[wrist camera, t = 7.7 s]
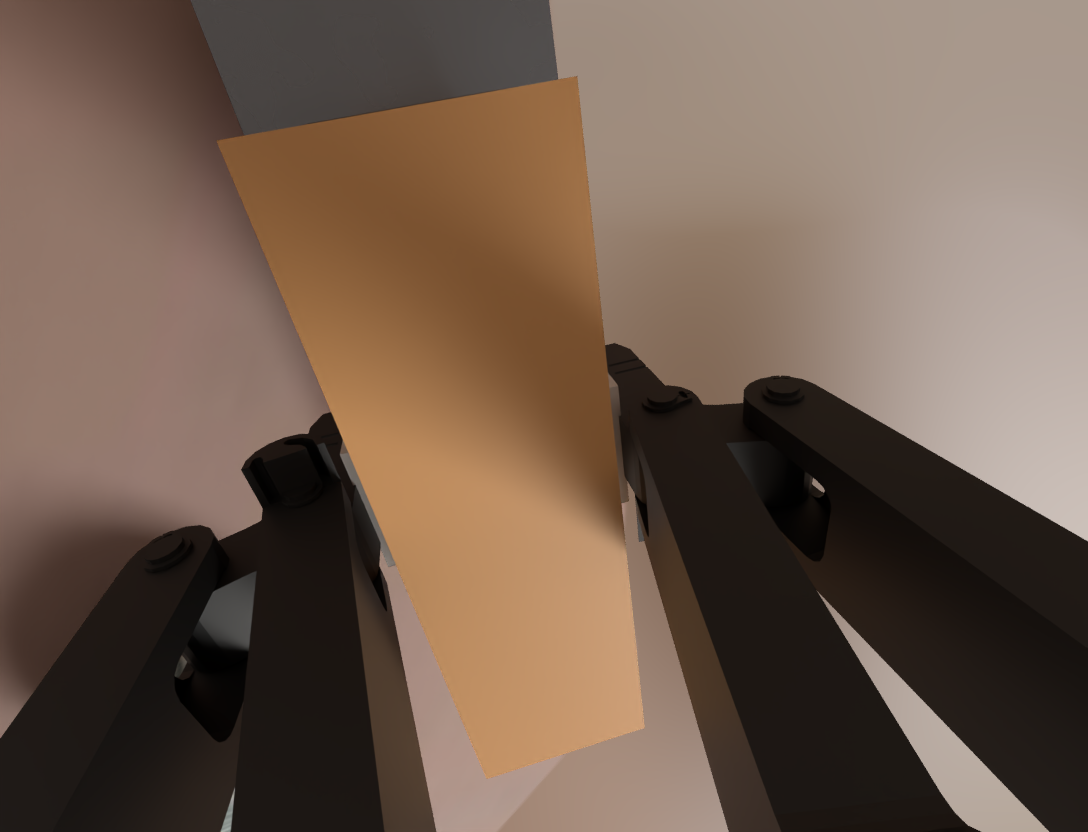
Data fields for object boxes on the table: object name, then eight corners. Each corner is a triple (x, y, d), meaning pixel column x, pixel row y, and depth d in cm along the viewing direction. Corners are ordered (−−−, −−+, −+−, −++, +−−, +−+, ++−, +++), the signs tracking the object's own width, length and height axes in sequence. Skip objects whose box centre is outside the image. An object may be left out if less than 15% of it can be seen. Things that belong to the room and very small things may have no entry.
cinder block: (421, 522, 25) (423, 586, 21) (222, -22, 14) (164, -66, 11) (585, 478, 25) (612, 533, 22) (507, -64, 15) (534, -117, 12)
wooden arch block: (450, 462, 21) (486, 779, 11) (347, 127, 15) (216, 140, 5) (534, 441, 22) (644, 728, 11) (467, 106, 16) (576, 76, 5)
